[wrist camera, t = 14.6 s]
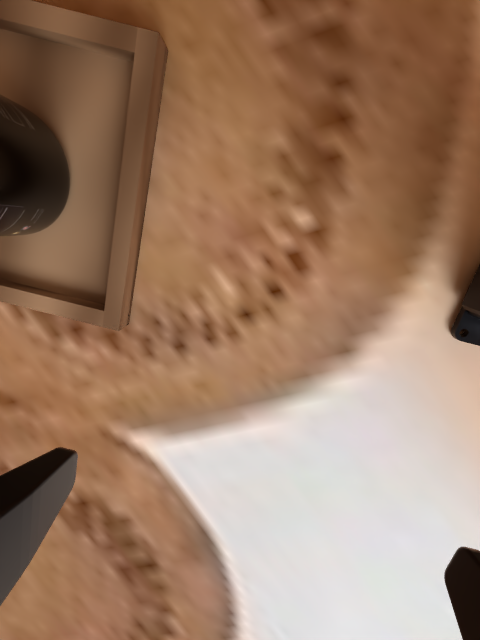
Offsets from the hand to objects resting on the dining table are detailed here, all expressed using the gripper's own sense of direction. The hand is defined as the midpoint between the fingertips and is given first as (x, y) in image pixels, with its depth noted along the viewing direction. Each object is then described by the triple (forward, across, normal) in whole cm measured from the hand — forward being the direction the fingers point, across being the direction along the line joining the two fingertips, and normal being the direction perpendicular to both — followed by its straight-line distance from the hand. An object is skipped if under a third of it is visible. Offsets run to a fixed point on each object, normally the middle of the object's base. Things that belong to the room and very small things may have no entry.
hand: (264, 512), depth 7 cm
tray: (+13, +16, -6) cm, 21 cm away
